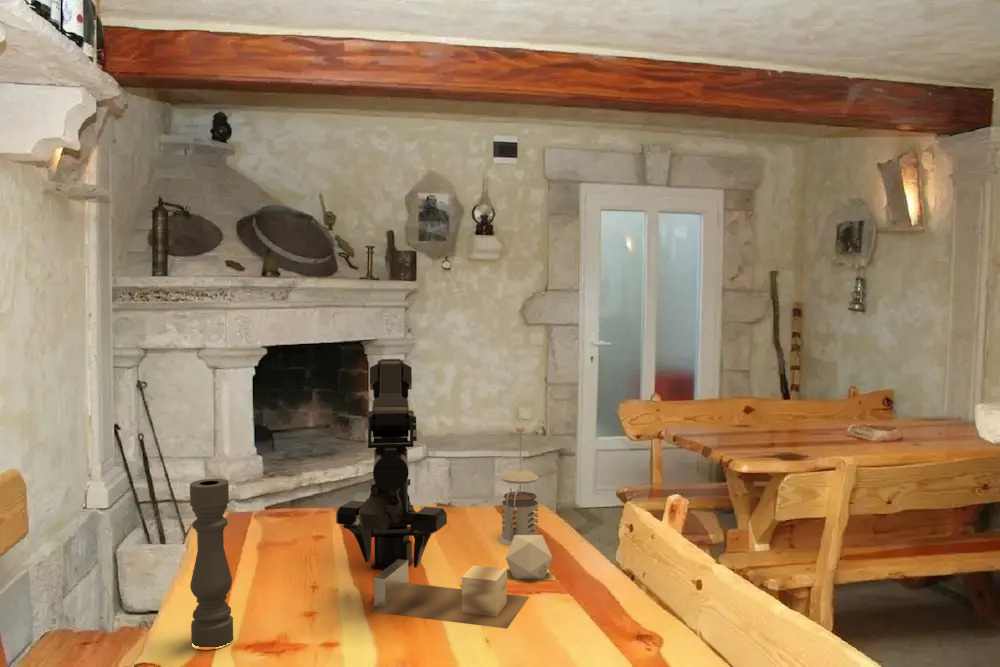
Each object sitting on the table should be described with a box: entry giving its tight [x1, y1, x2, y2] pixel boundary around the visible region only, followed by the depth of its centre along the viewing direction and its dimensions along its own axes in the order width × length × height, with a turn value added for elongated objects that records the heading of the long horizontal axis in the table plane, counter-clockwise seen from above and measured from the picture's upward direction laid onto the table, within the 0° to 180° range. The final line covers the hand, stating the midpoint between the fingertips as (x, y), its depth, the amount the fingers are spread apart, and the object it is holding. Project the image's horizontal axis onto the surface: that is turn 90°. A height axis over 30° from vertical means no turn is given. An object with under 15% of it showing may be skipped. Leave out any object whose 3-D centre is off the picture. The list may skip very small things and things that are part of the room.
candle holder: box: [189, 478, 234, 647], centre depth 129 cm, size 6×6×25 cm
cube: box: [461, 565, 508, 616], centre depth 140 cm, size 6×6×6 cm
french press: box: [497, 425, 539, 547], centre depth 180 cm, size 10×12×25 cm
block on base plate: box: [369, 559, 530, 629], centre depth 142 cm, size 24×14×6 cm, turn 73°
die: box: [505, 534, 553, 580], centre depth 157 cm, size 8×9×10 cm
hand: (391, 564), depth 145 cm, fingers open, 9 cm apart
